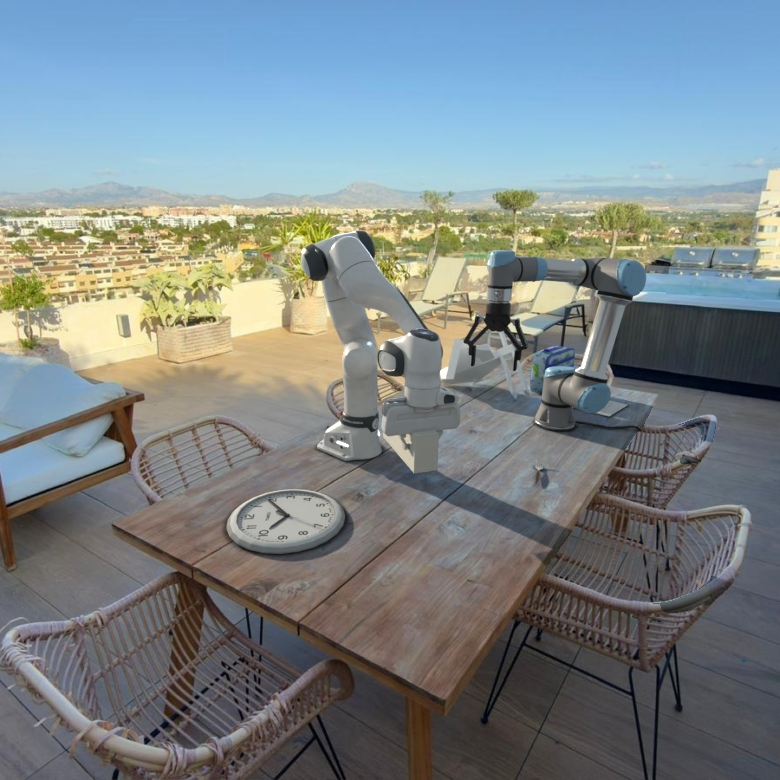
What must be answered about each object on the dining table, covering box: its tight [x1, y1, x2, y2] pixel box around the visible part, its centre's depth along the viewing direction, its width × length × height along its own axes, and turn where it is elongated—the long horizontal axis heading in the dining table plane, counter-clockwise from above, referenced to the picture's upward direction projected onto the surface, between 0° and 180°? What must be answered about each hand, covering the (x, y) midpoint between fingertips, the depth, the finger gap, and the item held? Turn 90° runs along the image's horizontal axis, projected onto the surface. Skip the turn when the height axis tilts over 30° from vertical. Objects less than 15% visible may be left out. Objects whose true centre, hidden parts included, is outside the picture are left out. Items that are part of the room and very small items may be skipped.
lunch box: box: [529, 345, 576, 394], centre depth 244 cm, size 26×11×21 cm, turn 135°
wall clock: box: [226, 488, 346, 555], centre depth 135 cm, size 30×2×30 cm
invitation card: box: [575, 399, 629, 418], centre depth 226 cm, size 21×1×15 cm
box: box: [382, 430, 440, 474], centre depth 140 cm, size 25×6×10 cm, turn 19°
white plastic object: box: [439, 331, 531, 400], centre depth 245 cm, size 37×45×31 cm
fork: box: [534, 457, 545, 484], centre depth 163 cm, size 3×16×2 cm, turn 160°
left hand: (420, 447), depth 133 cm, fingers closed on box, 6 cm apart
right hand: (493, 367), depth 169 cm, fingers open, 13 cm apart
